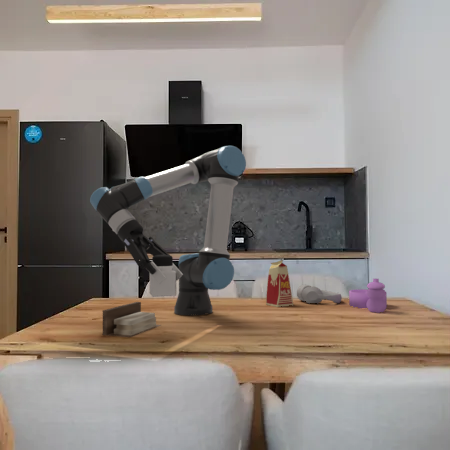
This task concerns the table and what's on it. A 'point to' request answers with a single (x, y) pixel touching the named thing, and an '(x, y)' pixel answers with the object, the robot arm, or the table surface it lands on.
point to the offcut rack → (117, 313)
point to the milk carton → (278, 286)
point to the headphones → (316, 294)
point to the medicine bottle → (166, 268)
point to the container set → (370, 297)
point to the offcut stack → (134, 323)
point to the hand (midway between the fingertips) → (171, 279)
